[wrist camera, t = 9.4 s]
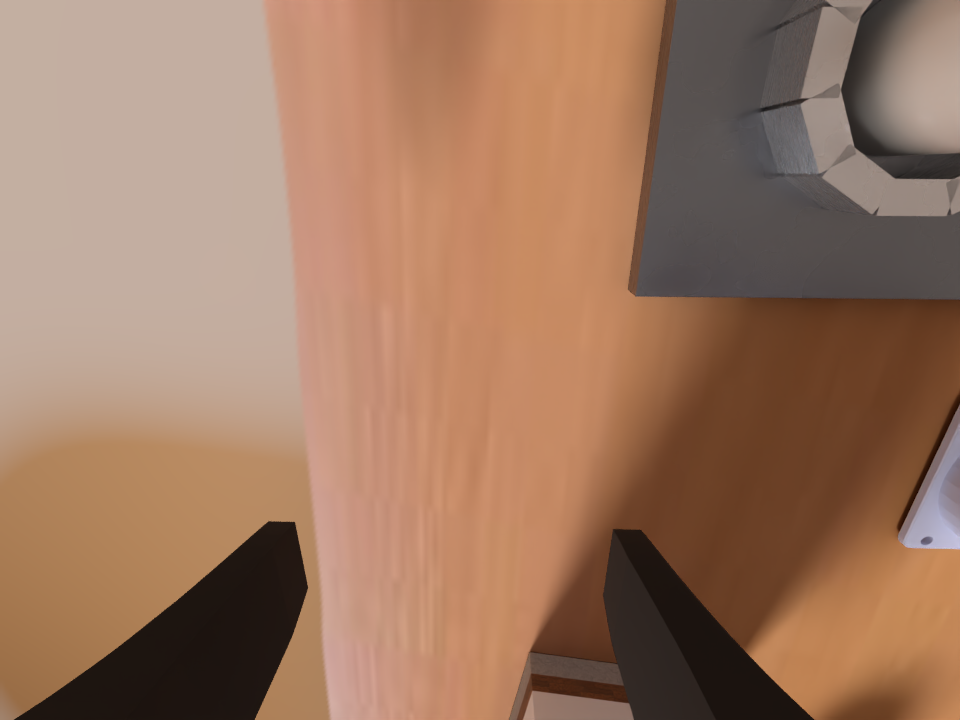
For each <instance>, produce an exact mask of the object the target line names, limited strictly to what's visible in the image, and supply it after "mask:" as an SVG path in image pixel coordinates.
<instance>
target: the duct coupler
mask: <svg viewBox="0 0 960 720" xmlns="http://www.w3.org/2000/svg"><path fill="white" fill-rule="evenodd" d="M841 93H842V97H843V101H844V105H845V110H846V114H847V118H848V122H849V126H850V131H851V135H852V139H853V143H854V147H855V148H856V149H857V150H858V151H860V152H861V153H863V154H866V155H871V156H904V155H928V154H951V153H960V0H881V1H880V2H878V3H877V4H876V5H874V6H873V7H872V8H871V9H870V10H869V11H868V12H867V13H866V14H865V15H864V16H863V17H862V18H861V19H860V21H859V24H858V28H857V32H856V36H855V39H854V43H853V47H852V50H851V54H850V58H849V61H848V65H847V69H846V72H845V76H844V80H843V83H842V87H841Z"/></svg>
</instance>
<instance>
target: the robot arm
mask: <svg viewBox="0 0 960 720" xmlns="http://www.w3.org/2000/svg"><path fill="white" fill-rule="evenodd" d="M898 540H899V541H900V542H901V543H902V544H903V545H904V546H906V547H908V548H935V549H960V404H959V407H958V409H957V411H956V413H955V415H954V417H953V419H952V421H951V424H950V426H949V428H948V430H947V432H946V434H945V436H944V438H943V441H942V443H941V445H940V447H939V449H938V451H937V453H936V455H935V458H934V460H933V462H932V464H931V466H930V468H929V470H928V472H927V475H926V477H925V479H924V481H923V483H922V485H921V487H920V489H919V492H918V494H917V496H916V498H915V500H914V502H913V504H912V506H911V509H910V511H909V513H908V515H907V517H906V519H905V521H904V524H903V526H902V528H901V530H900V532H899V534H898ZM307 589H308V585H307V580H306V575H305V571H304V565H303V560H302V555H301V550H300V545H299V541H298V535H297V530H296V525H295V522H271V521H269V522H267V523H266V524H265V525H264V526H263V527H261V529H259V530H258V531H257V532H256V533H254V535H252V536H251V537H250V538H249V539H248V540H246V541H245V542H244V543H243V544H242V545H241V546H240V547H239V548H238V549H236V550H235V551H234V552H233V553H232V554H231V555H229V556H228V557H227V558H226V559H225V560H224V561H223V562H222V563H220V564H219V565H218V566H217V567H216V568H215V569H213V570H212V571H211V572H210V573H209V574H208V575H206V576H205V577H204V578H203V579H202V580H201V581H200V582H198V583H197V584H196V585H195V586H194V587H192V588H191V589H190V590H189V591H188V592H187V593H185V594H184V595H183V596H182V597H181V598H179V599H178V600H177V601H176V602H174V604H172V605H171V606H170V607H168V608H167V609H166V610H164V611H163V612H162V613H161V614H159V615H158V616H157V617H156V618H154V619H153V620H152V621H151V622H149V623H148V624H147V625H146V626H145V627H143V628H142V629H141V630H139V631H138V632H137V633H136V634H134V635H133V636H132V637H131V638H130V639H128V640H127V641H126V642H124V643H123V644H122V645H120V646H119V647H118V648H117V649H115V650H114V651H112V652H111V653H110V654H108V655H107V656H106V657H104V658H103V659H102V660H100V661H99V662H98V663H96V664H95V665H94V666H92V667H91V668H89V669H88V670H86V671H85V672H84V673H82V674H81V675H79V676H78V677H77V678H75V679H74V680H72V681H71V682H70V683H68V684H67V685H65V686H64V687H62V688H61V689H60V690H58V691H57V692H55V693H54V694H52V695H51V696H50V697H48V698H46V699H45V700H44V701H42V702H41V703H39V704H38V705H36V706H34V707H33V708H31V709H30V710H28V711H27V712H25V713H24V714H22V715H21V716H19V717H17V718H16V719H14V720H255V718H256V715H257V713H258V711H259V709H260V707H261V704H262V702H263V700H264V698H265V696H266V693H267V691H268V689H269V687H270V685H271V682H272V680H273V678H274V676H275V674H276V671H277V669H278V667H279V665H280V663H281V660H282V658H283V656H284V654H285V651H286V649H287V647H288V645H289V642H290V640H291V638H292V635H293V632H294V629H295V627H296V623H297V621H298V617H299V615H300V612H301V608H302V605H303V602H304V599H305V596H306V592H307ZM603 597H604V603H605V609H606V614H607V620H608V626H609V631H610V636H611V641H612V646H613V649H614V653H615V657H616V660H617V664H618V667H619V670H620V674H621V677H622V681H623V684H624V688H625V691H626V695H627V698H628V701H629V705H630V708H631V712H632V715H633V718H634V720H814V719H813V718H812V717H811V716H810V715H809V714H808V713H807V712H806V711H805V710H803V709H802V708H801V707H800V706H799V705H798V704H797V703H796V702H795V701H794V700H793V699H792V698H791V697H790V696H789V695H788V694H787V693H786V692H785V691H783V690H782V689H781V688H780V687H779V686H778V685H777V684H776V683H775V682H774V681H773V680H772V679H771V678H770V677H769V676H768V675H767V674H766V673H765V672H764V671H763V670H762V669H761V668H760V666H759V665H758V664H757V663H756V662H755V661H754V660H753V659H752V658H751V657H750V656H749V655H748V654H747V653H746V652H745V651H744V650H743V649H742V648H741V647H740V646H739V644H738V643H737V642H736V641H735V640H734V639H733V638H732V637H731V636H730V635H729V634H728V633H727V631H726V630H725V629H724V628H723V627H722V626H721V625H720V624H719V623H718V622H717V620H716V619H715V618H714V617H713V616H712V615H711V614H710V612H709V611H708V610H707V609H706V608H705V607H704V606H703V604H702V603H701V602H700V601H699V600H698V599H697V598H696V596H695V595H694V594H693V593H692V592H691V591H690V589H689V588H688V587H687V586H686V585H685V583H684V582H683V581H682V580H681V579H680V577H679V576H678V575H677V574H676V572H675V571H674V570H673V569H672V568H671V566H670V565H669V564H668V563H667V561H666V560H665V559H664V558H663V556H662V555H661V554H660V553H659V551H658V550H657V549H656V548H655V546H654V545H653V544H652V543H651V541H650V540H649V539H648V538H647V536H646V535H645V534H644V533H643V532H642V531H641V530H622V529H613V534H612V540H611V547H610V554H609V560H608V567H607V573H606V580H605V587H604V593H603Z"/></svg>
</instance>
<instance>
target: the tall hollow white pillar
mask: <svg viewBox="0 0 960 720" xmlns="http://www.w3.org/2000/svg"><path fill="white" fill-rule="evenodd" d="M509 720H634V718H633V715H632V712H631V708H630V705H629V701H628V698H627V695H626V691H625V688H624V684H623V681H622V677H621V674H620V670H619V667H618V664H614V663H606V662H599V661H592V660H584V659H577V658H569V657H562V656H554V655H547V654H540V653H532V652H529V656H528V659H527V662H526V666H525V669H524V672H523V675H522V679H521V682H520V685H519V689H518V692H517V695H516V699H515V702H514V705H513V708H512V712H511V715H510V718H509Z"/></svg>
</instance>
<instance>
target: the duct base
mask: <svg viewBox="0 0 960 720" xmlns="http://www.w3.org/2000/svg"><path fill="white" fill-rule="evenodd" d="M880 1H881V0H666V7H665V15H664V22H663V30H662V37H661V45H660V52H659V60H658V67H657V75H656V82H655V90H654V98H653V105H652V113H651V120H650V128H649V135H648V143H647V150H646V158H645V165H644V173H643V181H642V188H641V196H640V203H639V211H638V218H637V226H636V233H635V241H634V249H633V256H632V264H631V271H630V279H629V286H628V290H629V291H630V292H631V293H632V294H634V295H635V296H651V297H752V298H853V299H954V300H960V153H951V154H928V155H904V156H871V155H866V154H863V153H861V152H860V151H858V150H857V149H856V148H855V147H854V143H853V139H852V135H851V131H850V126H849V122H848V118H847V114H846V110H845V105H844V101H843V97H842V93H841V87H842V83H843V80H844V76H845V72H846V69H847V65H848V61H849V58H850V54H851V50H852V47H853V43H854V39H855V36H856V32H857V28H858V24H859V21H860V19H861V18H862V17H863V16H864V15H865V14H866V13H867V12H868V11H869V10H870V9H871V8H872V7H873V6H874V5H876V4H877V3H878V2H880Z"/></svg>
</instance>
